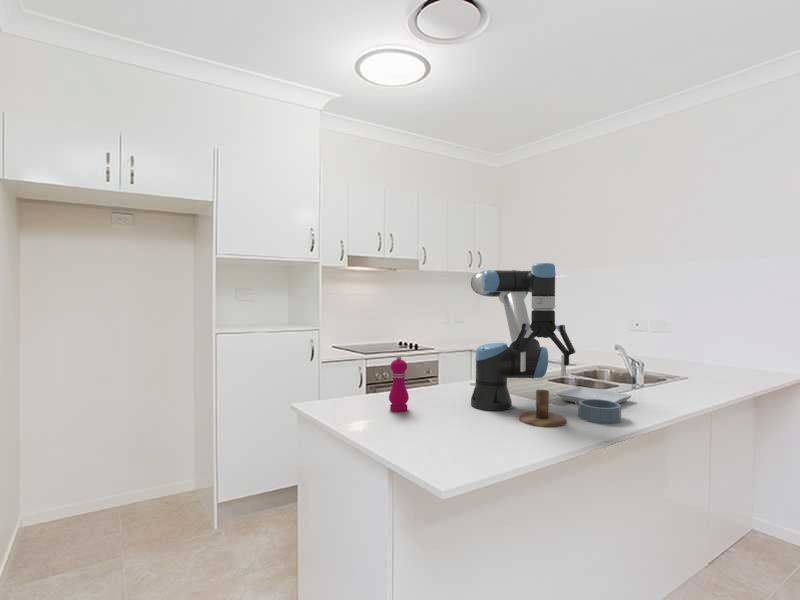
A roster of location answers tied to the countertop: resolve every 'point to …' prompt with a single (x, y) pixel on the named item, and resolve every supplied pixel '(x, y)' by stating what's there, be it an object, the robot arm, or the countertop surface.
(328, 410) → the countertop surface
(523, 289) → the robot arm
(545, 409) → the lid
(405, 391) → the pepper mill
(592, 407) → the bowl
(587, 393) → the salad plate
